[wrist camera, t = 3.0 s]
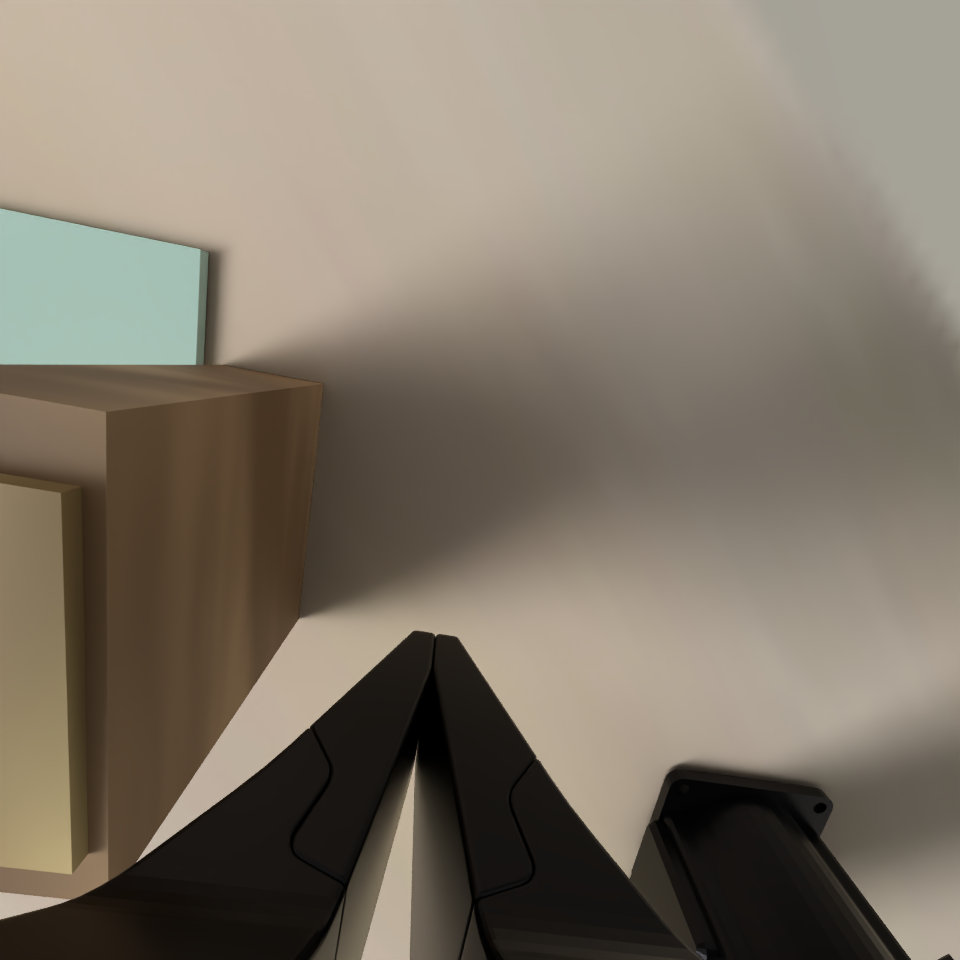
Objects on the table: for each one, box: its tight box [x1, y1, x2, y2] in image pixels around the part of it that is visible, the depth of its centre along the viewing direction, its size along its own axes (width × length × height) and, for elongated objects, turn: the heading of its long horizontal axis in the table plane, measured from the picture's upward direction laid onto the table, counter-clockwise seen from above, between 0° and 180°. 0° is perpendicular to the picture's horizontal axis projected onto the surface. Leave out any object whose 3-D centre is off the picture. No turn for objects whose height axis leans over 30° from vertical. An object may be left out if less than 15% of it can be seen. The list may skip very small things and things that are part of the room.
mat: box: [0, 209, 209, 365], centre depth 14 cm, size 9×14×1 cm, turn 169°
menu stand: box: [0, 364, 323, 899], centre depth 10 cm, size 3×8×9 cm, turn 169°
